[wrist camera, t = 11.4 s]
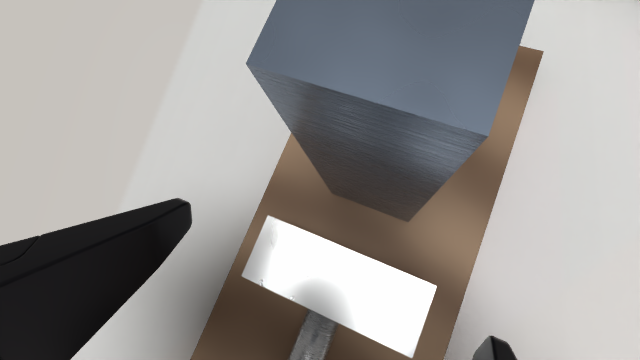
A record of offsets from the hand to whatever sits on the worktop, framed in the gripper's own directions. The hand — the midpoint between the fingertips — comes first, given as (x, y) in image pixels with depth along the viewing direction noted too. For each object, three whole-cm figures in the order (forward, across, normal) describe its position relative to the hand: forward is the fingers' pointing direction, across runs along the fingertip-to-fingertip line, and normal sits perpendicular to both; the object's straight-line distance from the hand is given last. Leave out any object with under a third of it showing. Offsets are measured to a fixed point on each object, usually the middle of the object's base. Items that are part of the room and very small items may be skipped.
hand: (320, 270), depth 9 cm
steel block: (+10, 0, +2) cm, 10 cm away
